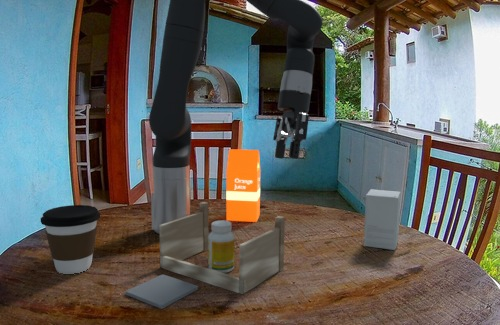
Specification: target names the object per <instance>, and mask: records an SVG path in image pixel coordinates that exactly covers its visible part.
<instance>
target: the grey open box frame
mask: <svg viewBox="0 0 500 325" xmlns="http://www.w3.org/2000/svg"><path fill="white" fill-rule="evenodd" d="M285 220H286V217H285V216H281V215H278V216H276V217H274V228H272V229H270V230H268V231H266V232H264V233H261V234H259V235H257V236H255V237H253V238H251V239H249V240H247V241H245V242H243V243H240V244H238V248H239V249H238V250H239V251H238V252H239V254H238V255H239V256H238V258H239V260H238V261H239V262H238V264H239V265H238V270H239V271H238V273H239V274H238V276H235V275H231V274H228V273H222V272H218V271H215V270H212V269H208V267H204V266H202V265H198V264H195V263H192V262H188V261H185V260H186V259H188V258H191V257H193V256H195V255H197V254H200V253H201V252H202V253H203V252H206V251H208V235H209V202H207V201H202V202H199V212H196V213H193V214H190V215H189V216H186V217H183V218H180V219H177V220H174V221H171V222H168V223H164V224H161V225H159V232H160V234H159V266H160V269H163V270H166V271H169V272H172V273H176V274H179V275H181V276H184V277H188V278H190V279H194V280H197V281H200V282H202V283H206V284H209V285H212V286H215V287H219V288H221V289H224V290H228V291H231V292H233V293H237V294H241V295H244V294H246V293H247V292H249V291H250V290H252V289H253V288H255V287H257V286H259V284H261V283H264V282H265V281H266V280H268V279H269V278H271V277H272V276H273V275H275V274H277V273H278V272H282V271H283V270H284V268H285V267H284V265H285V264H284V262H285Z"/></svg>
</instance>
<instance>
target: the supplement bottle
mask: <svg viewBox="0 0 500 325" xmlns="http://www.w3.org/2000/svg"><path fill="white" fill-rule="evenodd" d="M210 226H211V228H210V229H211V232H209V233H208V250H207V268H208V269H212V270H215V271H218V272H222V273H225V274H228V273H229V272H231V271H233V269H234V268H235V240H236V239H235V234H234V233H233V231H232V228H233V227H232V221H229V220H223V219H222V220H215V221H213V222H211V225H210Z"/></svg>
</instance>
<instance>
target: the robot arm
mask: <svg viewBox="0 0 500 325" xmlns="http://www.w3.org/2000/svg"><path fill="white" fill-rule="evenodd" d="M245 1H246V2H248V3H249V4H250V5H251V6H252V7H254V8H255V9H256V10H258V11H259V12H261V13H262V14H263V15H264V16H266V17H267V18H268V19H270V20H272V21H275V22H276V21H279V20H280V21H281V22H283V23H285V24H287V25H288V29H287V36H286V57H285V62H284V68H283V75H282V78H281V82H280V89H279V96H278V102H277V109H278V110H279V111H280V112H282V113H283V114H282V115H281V116H282V117H277V118H276V120H275V127H274V133H273V141H275V143H276V144H275V154H274V157H275V158H277V159H284V157H285V154H286V143H287V141H288V139H289V138H290V143H289V152H288V158H289V159H294V160H295V159H296V160H297V159H299V156H300V147H301V143H303V140H304V141H306V140H307V136H308V129H309V128H308V126H309V119H310V114H308V113H309V111H310V103H311V96H312V95H311V94H312V89H313V75H314V68H315V58H316V57H315V54H314V52H313V48H314V41H315V38H316V36H317V35H318V34H319V33H320V32H321V30H322V29H323V28H322V27H323V23H324V22H323V21H324V20H323V17H322V15H321V14H320V12H319V11H318V10H317V9H316V8H315V7H314V6H313V5H311V4H309V3H307V2H306V1H303V0H245ZM205 23H206V0H169V4H168V10H167V14H166V19H165V27H164V31H163V32H164V33H163V39H162V47H161V48H162V49H161V56H160V62H159V63H160V64H159V76H158V80H157V81H158V82H157V85H156V90H155V93H154V98H153V101H152V105H151V109H150V112H149V116H148V117H149V118H148V125H149V128H150V130H151V132H152V133H153V135H154V136H155V148H154V152H153V155H152V172H153V175H152V177H153V181H152V182H153V193H151V195H150V203H151V204H150V205H151V206H150V211H151V230H153V231H154V232H155V233H156V234H159V235H160V232H159V225H161V224H164V223H168V222H171V221H174V220H177V219H180V218H183V217H186V216H189V215H191V189H190V188H191V184H190V183H191V182H190V181H191V178H190V176H191V175H190V172H191V171H190V166H191V164H190V160H191V159H190V158H191V153H192V152H191V151H192V120H191V119H192V118H191V114H190V112H189V110H188V109H187V100H188V99H187V98H188V90H189V85H190V81H191V79H192V76H193V73H194V71H195V68H196V66H197V64H198V60H199V57H200V53H201V49H202V45H203V38H204V31H205V25H206V24H205Z"/></svg>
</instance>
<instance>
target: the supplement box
mask: <svg viewBox="0 0 500 325" xmlns="http://www.w3.org/2000/svg"><path fill="white" fill-rule="evenodd" d="M364 209H365V211H364V212H365V213H364V231H363V232H364V238H363V239H364V241H363V245H364V247H370V248H377V249H384V250H391V251H396V249H397V245H398V243H399V233H400V231H399V228H400V227H399V226H400V213H401V212H400V211H401V191H396V190H395V191H393V190H383V189H373V188H370V190H368V192H367V193H366V194H365V207H364Z"/></svg>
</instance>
